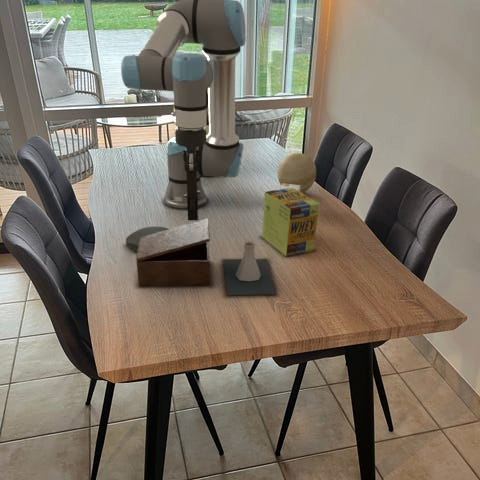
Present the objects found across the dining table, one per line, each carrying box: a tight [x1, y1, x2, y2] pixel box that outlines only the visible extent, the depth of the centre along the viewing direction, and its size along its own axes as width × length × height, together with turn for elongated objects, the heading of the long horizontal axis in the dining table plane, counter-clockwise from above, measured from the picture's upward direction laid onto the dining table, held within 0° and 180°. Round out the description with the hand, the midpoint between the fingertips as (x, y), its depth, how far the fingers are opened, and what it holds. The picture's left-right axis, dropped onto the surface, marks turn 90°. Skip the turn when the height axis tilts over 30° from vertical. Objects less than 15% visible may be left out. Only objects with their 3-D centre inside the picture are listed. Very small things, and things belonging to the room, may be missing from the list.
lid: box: [135, 217, 211, 262], centre depth 137 cm, size 20×13×1 cm, turn 94°
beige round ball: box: [277, 152, 317, 193], centre depth 196 cm, size 15×15×15 cm
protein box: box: [261, 188, 320, 257], centre depth 157 cm, size 10×15×16 cm
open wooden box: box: [136, 242, 211, 288], centre depth 141 cm, size 19×13×8 cm
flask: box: [236, 240, 261, 281], centre depth 140 cm, size 7×7×10 cm
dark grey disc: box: [125, 226, 169, 253], centre depth 158 cm, size 15×15×3 cm
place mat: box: [223, 258, 276, 297], centre depth 143 cm, size 20×13×1 cm, turn 4°
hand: (192, 219), depth 134 cm, fingers closed
